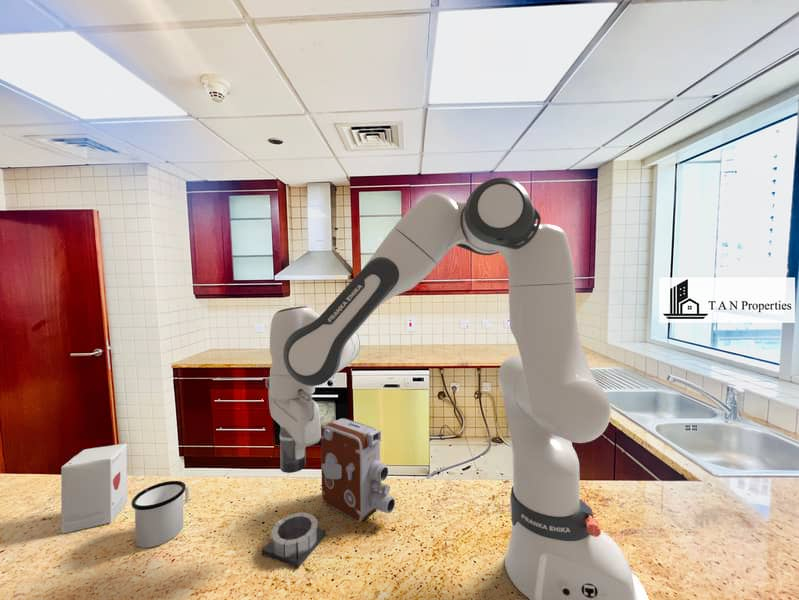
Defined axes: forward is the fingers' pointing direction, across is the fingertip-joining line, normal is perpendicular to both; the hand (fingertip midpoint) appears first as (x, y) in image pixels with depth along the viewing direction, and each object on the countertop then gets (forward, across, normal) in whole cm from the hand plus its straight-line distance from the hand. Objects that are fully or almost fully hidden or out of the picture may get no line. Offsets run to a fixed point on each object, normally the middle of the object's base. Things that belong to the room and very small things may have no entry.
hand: (293, 451), depth 65 cm
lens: (+3, 0, 0) cm, 3 cm away
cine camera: (+20, +1, -16) cm, 25 cm away
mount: (+19, 0, 0) cm, 19 cm away
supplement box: (+20, +38, +34) cm, 55 cm away
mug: (+20, +22, +21) cm, 37 cm away
